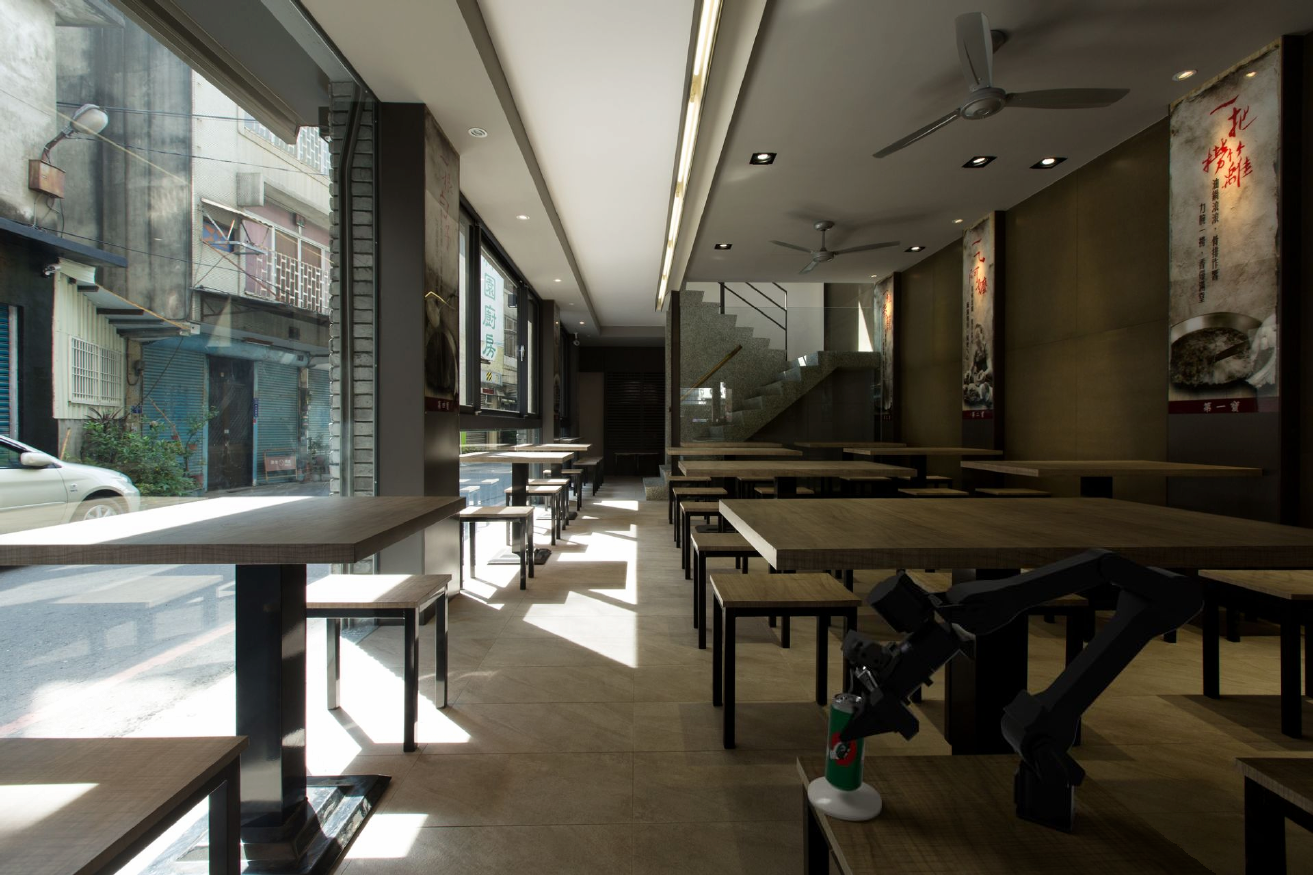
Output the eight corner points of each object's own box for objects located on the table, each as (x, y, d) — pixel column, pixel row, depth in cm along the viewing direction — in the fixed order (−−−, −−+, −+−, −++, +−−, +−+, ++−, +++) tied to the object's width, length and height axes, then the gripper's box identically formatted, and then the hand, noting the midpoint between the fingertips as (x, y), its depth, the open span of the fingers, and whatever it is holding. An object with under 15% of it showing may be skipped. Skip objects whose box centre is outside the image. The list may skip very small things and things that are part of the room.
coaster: (891, 797, 94) (891, 791, 94) (867, 830, 86) (867, 824, 86) (824, 774, 100) (824, 768, 100) (796, 803, 92) (796, 797, 92)
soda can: (868, 793, 91) (875, 706, 91) (833, 794, 90) (840, 706, 90) (851, 773, 96) (857, 691, 96) (818, 774, 95) (824, 691, 95)
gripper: (863, 597, 102) (789, 665, 103) (893, 634, 83) (804, 717, 85) (915, 650, 101) (841, 718, 103) (958, 699, 83) (866, 782, 84)
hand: (837, 731), depth 93 cm, fingers closed on soda can, 5 cm apart
